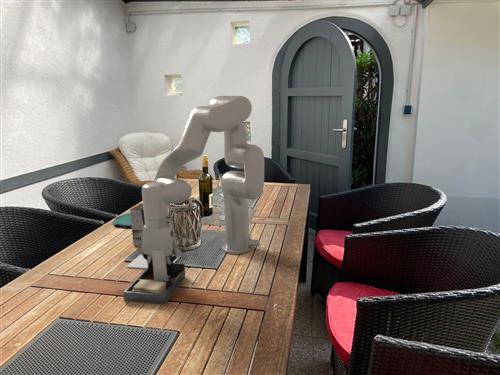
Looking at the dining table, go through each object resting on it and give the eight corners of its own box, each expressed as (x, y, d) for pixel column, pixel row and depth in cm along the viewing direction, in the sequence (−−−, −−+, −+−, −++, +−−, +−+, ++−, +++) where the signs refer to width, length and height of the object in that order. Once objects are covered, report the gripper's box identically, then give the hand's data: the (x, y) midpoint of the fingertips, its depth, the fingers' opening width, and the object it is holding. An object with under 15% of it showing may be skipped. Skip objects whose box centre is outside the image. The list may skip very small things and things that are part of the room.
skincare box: (157, 276, 125) (154, 244, 122) (170, 275, 126) (167, 243, 123) (154, 285, 120) (151, 251, 117) (167, 284, 120) (164, 251, 117)
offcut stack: (167, 294, 115) (166, 282, 114) (160, 302, 111) (159, 290, 110) (140, 291, 118) (139, 279, 117) (132, 299, 113) (130, 286, 112)
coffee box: (147, 247, 151) (143, 209, 147) (133, 246, 152) (129, 209, 148) (157, 238, 160) (154, 203, 156) (143, 238, 161) (140, 202, 157)
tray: (185, 276, 126) (184, 263, 124) (165, 304, 109) (163, 289, 108) (149, 274, 128) (148, 261, 127) (124, 300, 112) (122, 285, 111)
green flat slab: (126, 214, 193) (125, 210, 193) (180, 217, 189) (180, 213, 188) (106, 228, 174) (105, 224, 174) (166, 232, 170) (166, 227, 169)
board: (180, 256, 142) (180, 255, 142) (168, 270, 130) (168, 269, 130) (142, 253, 145) (142, 252, 145) (126, 267, 133) (126, 266, 133)
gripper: (186, 218, 119) (190, 269, 124) (137, 216, 122) (143, 266, 127) (178, 226, 112) (182, 280, 117) (126, 224, 115) (132, 276, 120)
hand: (161, 272), depth 122 cm, fingers closed on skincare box, 5 cm apart
